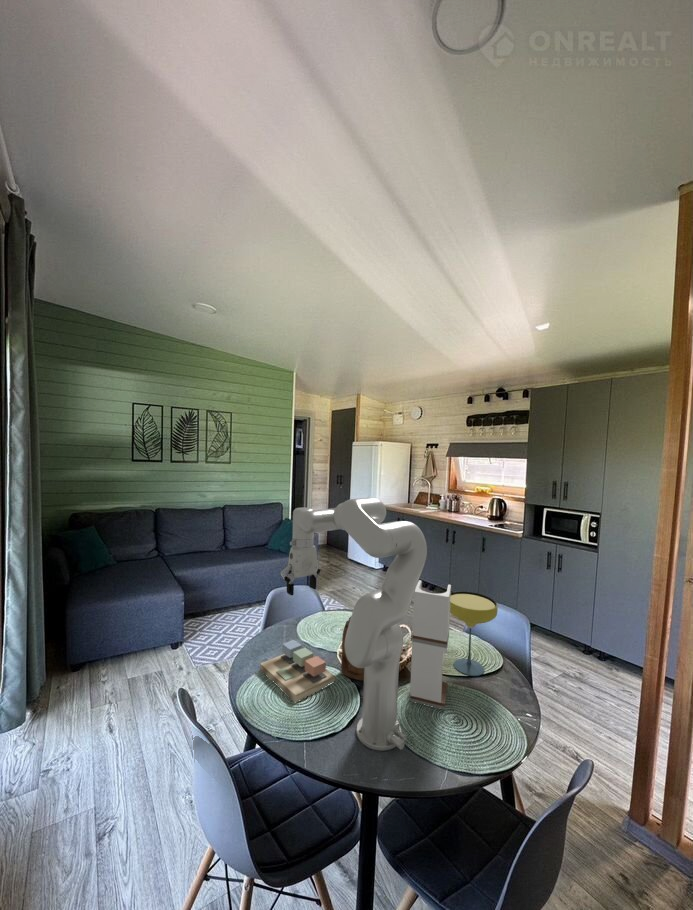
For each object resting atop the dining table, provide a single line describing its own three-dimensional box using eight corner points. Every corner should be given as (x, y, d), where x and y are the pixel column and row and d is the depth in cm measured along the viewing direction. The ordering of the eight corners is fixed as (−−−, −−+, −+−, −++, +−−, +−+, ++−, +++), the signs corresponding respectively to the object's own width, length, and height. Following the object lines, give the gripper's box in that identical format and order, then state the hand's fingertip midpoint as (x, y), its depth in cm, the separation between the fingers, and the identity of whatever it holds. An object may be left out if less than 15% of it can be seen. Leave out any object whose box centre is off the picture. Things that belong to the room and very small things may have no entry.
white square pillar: (444, 710, 114) (448, 596, 114) (409, 701, 117) (414, 591, 117) (446, 688, 125) (450, 584, 125) (415, 681, 128) (418, 580, 128)
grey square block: (301, 653, 135) (301, 645, 135) (289, 658, 132) (290, 649, 132) (293, 647, 139) (293, 639, 139) (282, 652, 135) (282, 643, 135)
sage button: (312, 661, 130) (313, 653, 130) (301, 666, 126) (301, 658, 126) (304, 655, 134) (304, 647, 133) (292, 660, 130) (293, 651, 130)
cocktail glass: (491, 658, 144) (494, 594, 144) (498, 686, 127) (501, 613, 127) (443, 651, 149) (445, 588, 149) (444, 677, 131) (446, 606, 131)
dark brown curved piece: (373, 672, 133) (375, 616, 133) (368, 684, 126) (370, 625, 126) (344, 665, 136) (346, 611, 136) (338, 677, 129) (340, 619, 129)
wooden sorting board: (334, 683, 126) (335, 674, 125) (295, 703, 115) (295, 693, 115) (297, 655, 142) (297, 647, 142) (259, 670, 131) (260, 662, 131)
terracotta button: (325, 671, 125) (325, 662, 125) (313, 676, 121) (313, 667, 121) (316, 664, 128) (316, 655, 128) (304, 669, 125) (304, 660, 125)
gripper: (288, 548, 123) (286, 600, 123) (328, 541, 135) (327, 588, 135) (276, 544, 129) (274, 593, 129) (316, 537, 140) (314, 583, 140)
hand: (301, 591), depth 132 cm, fingers open, 9 cm apart
